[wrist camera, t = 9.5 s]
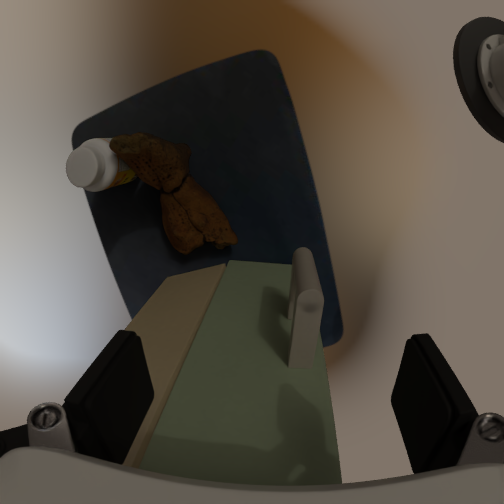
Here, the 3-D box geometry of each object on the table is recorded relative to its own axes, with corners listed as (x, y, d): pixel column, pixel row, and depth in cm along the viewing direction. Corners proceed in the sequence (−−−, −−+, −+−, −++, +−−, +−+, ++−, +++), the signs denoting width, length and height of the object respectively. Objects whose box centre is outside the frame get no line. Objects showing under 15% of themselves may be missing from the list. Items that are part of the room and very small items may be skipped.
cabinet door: (230, 212, 37) (82, 421, 8) (312, 218, 36) (398, 456, 7) (229, 265, 39) (127, 508, 10) (306, 271, 39) (342, 533, 9)
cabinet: (224, 263, 39) (114, 506, 10) (246, 327, 42) (197, 565, 12) (167, 277, 41) (17, 475, 11) (191, 337, 43) (101, 544, 14)
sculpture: (152, 119, 24) (195, 286, 29) (212, 116, 33) (241, 245, 37) (92, 145, 27) (133, 286, 32) (156, 134, 36) (185, 249, 41)
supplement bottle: (109, 184, 37) (61, 198, 28) (106, 141, 36) (57, 143, 26) (148, 180, 37) (106, 193, 27) (145, 135, 35) (102, 134, 25)
